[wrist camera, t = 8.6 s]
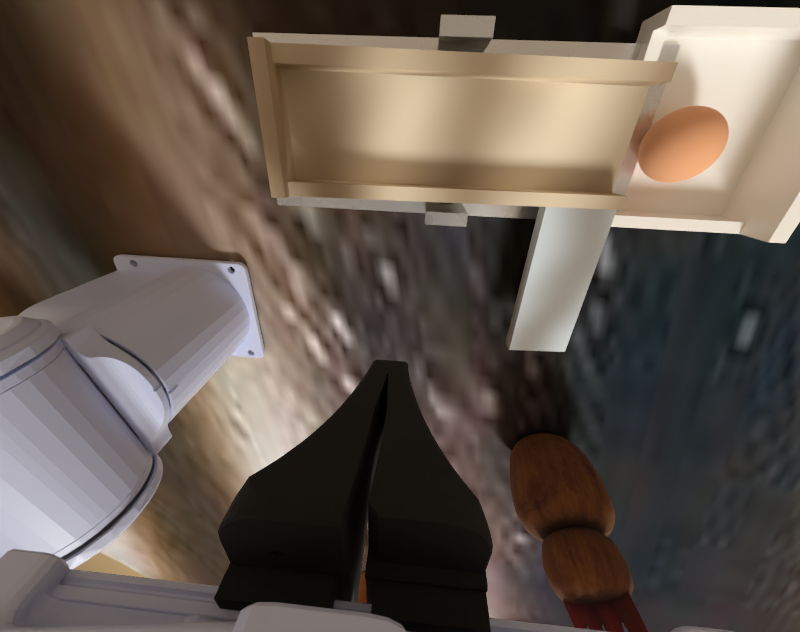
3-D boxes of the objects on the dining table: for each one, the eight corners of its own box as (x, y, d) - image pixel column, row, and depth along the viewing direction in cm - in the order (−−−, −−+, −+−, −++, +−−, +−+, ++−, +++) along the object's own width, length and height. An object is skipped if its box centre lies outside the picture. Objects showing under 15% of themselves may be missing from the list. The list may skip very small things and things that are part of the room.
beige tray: (309, 335, 21) (296, 361, 18) (273, 46, 13) (244, 25, 11) (558, 343, 21) (579, 370, 18) (656, 65, 14) (712, 48, 11)
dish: (580, 218, 19) (611, 233, 15) (642, 21, 14) (702, -13, 11) (723, 225, 18) (785, 243, 15) (831, 26, 14) (949, -8, 11)
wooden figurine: (583, 421, 27) (734, 692, 13) (575, 464, 29) (695, 725, 16) (501, 425, 27) (568, 681, 14) (501, 466, 30) (557, 714, 17)
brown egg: (690, 182, 16) (621, 177, 17) (724, 109, 15) (646, 109, 16) (719, 188, 14) (635, 182, 15) (763, 101, 12) (666, 101, 13)
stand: (281, 203, 20) (246, 218, 16) (258, 36, 16) (203, 1, 12) (609, 221, 19) (656, 241, 15) (671, 48, 15) (758, 14, 11)
